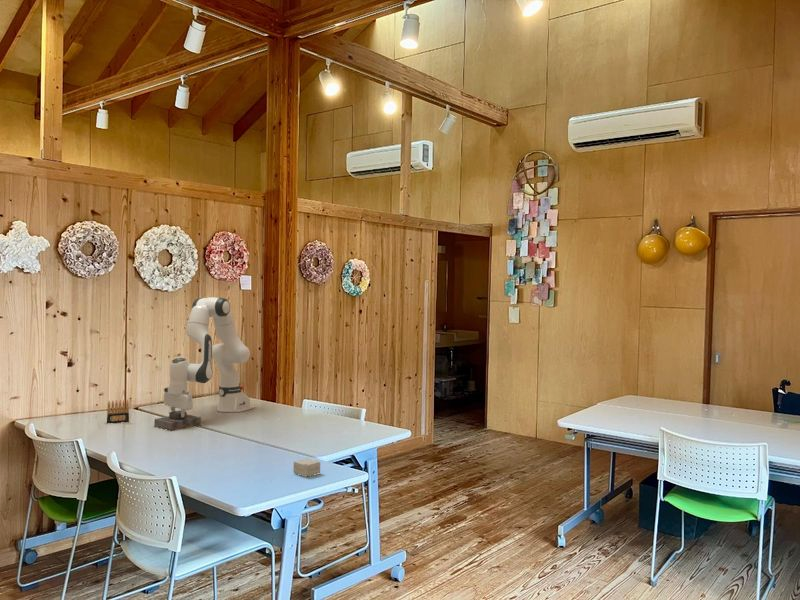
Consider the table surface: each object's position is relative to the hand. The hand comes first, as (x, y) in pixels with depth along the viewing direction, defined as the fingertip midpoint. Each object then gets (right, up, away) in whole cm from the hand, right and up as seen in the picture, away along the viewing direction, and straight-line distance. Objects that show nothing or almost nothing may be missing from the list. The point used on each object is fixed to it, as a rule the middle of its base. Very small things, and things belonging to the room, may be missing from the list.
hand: (178, 416), depth 328 cm
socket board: (0, -5, 0) cm, 5 cm away
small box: (+78, -10, -76) cm, 109 cm away
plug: (0, -4, 0) cm, 4 cm away
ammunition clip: (-33, -4, +4) cm, 34 cm away
